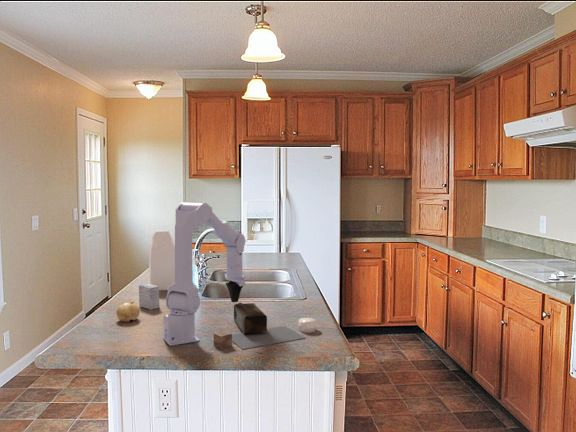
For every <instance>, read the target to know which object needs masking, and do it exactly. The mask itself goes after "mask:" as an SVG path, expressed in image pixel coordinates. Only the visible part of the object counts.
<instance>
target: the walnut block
mask: <svg viewBox="0 0 576 432" xmlns="http://www.w3.org/2000/svg"><path fill="white" fill-rule="evenodd" d="M232 335H233V333H231V332H229V331H225V330H222V331H217V332H214V333H213V347H215V348H218V349H219V350H224V349H226V348H230V347H233V342H232Z"/></svg>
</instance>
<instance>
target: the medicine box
mask: <svg viewBox="0 0 576 432" xmlns="http://www.w3.org/2000/svg"><path fill="white" fill-rule="evenodd" d="M138 297H139V298H138V299H139V303H138V305H139V306H138V307H141V308H144V309H147V310H151V311H152V310H155V309H159V308H160V290H159V287H158V286H155V285H152V284H149V283H144V284H140V285H138Z"/></svg>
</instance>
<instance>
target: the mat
mask: <svg viewBox="0 0 576 432" xmlns="http://www.w3.org/2000/svg"><path fill="white" fill-rule="evenodd" d="M303 339H306V337H305V336H303V335H302V334H300V333H298V332H296V331H294V330H292V329H291V328H289V327H287V326H286V325H283V326H277V327H270V328H267V332H266V333H261V334H246V335H245V334H244V333H243V332H241V333H240V332H239V333H232V344H235V345H236V346H237V347H239V348H240V349H241V350H247V349H248V350H249V349H253V348H260V347H264V346H270V345H275V344H276V345H277V344H282V343H287V342H292V341H297V340H303Z"/></svg>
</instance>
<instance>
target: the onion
mask: <svg viewBox="0 0 576 432" xmlns="http://www.w3.org/2000/svg"><path fill="white" fill-rule="evenodd" d="M115 313H116V317H117V319H118V320H119V321H120V322H121V323H122V322H123V323H129V322H130V321H136V320H137V319H138V318H139V316H140V308H139V306H138V305H137V304H136V303H134V300H131V299H129V301H128V302H124V303H122V304H121V305H119V306H118V307H117V309H116V312H115Z"/></svg>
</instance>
